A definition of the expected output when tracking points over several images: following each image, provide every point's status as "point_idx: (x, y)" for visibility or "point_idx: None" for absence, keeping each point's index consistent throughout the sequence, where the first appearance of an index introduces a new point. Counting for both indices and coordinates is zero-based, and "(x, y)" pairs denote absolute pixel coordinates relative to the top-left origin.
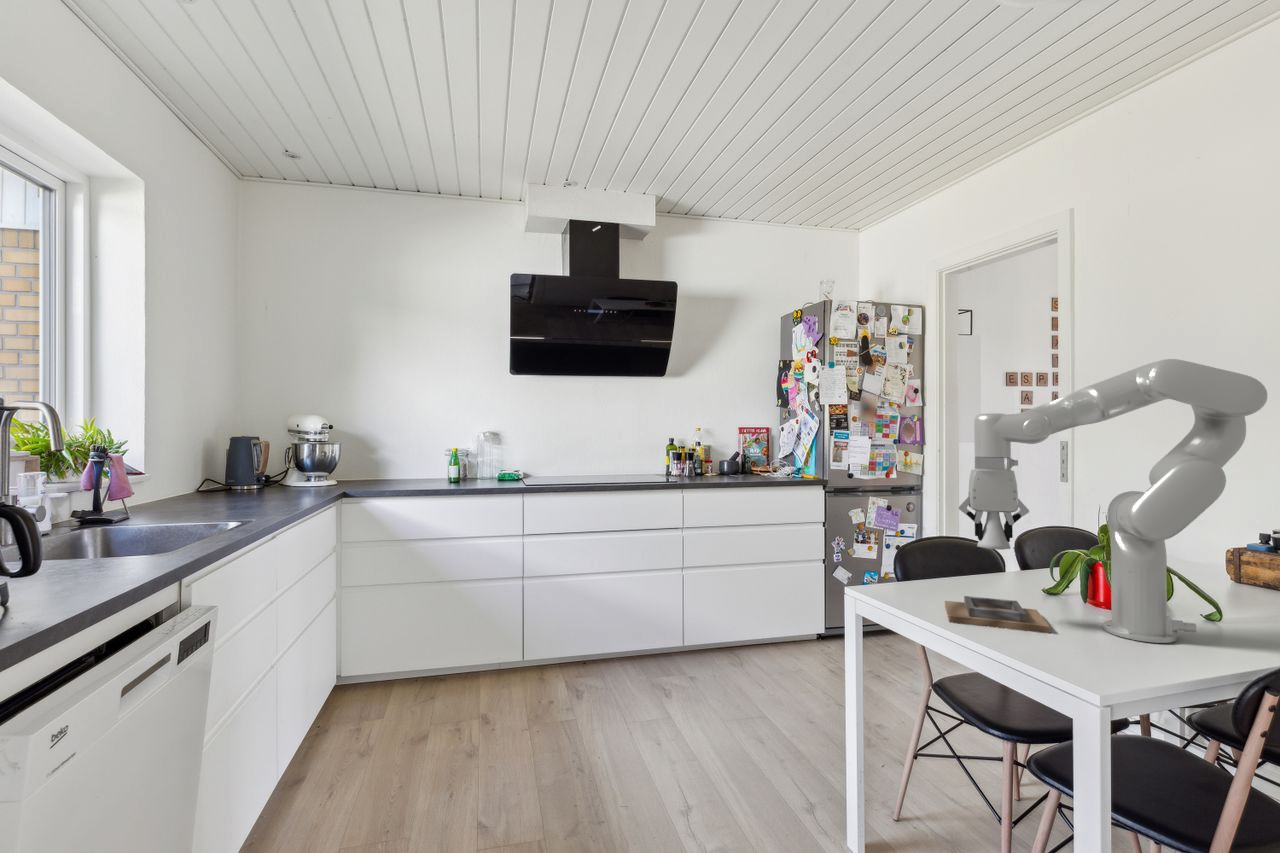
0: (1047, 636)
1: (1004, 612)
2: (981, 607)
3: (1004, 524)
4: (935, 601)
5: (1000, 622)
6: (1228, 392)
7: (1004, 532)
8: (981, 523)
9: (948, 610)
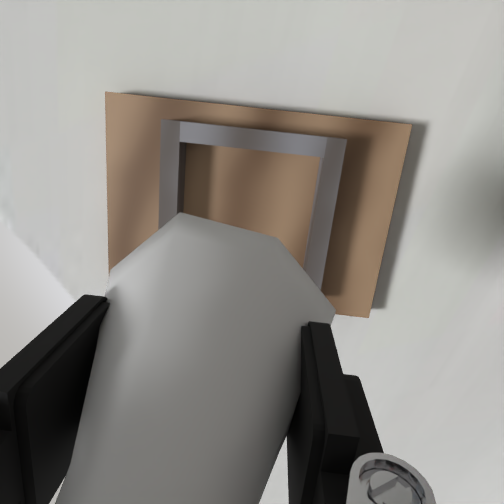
0: (346, 334)
1: None
2: (221, 154)
3: (308, 459)
4: (84, 19)
5: None
6: None
7: (290, 419)
8: (29, 457)
9: (110, 227)
